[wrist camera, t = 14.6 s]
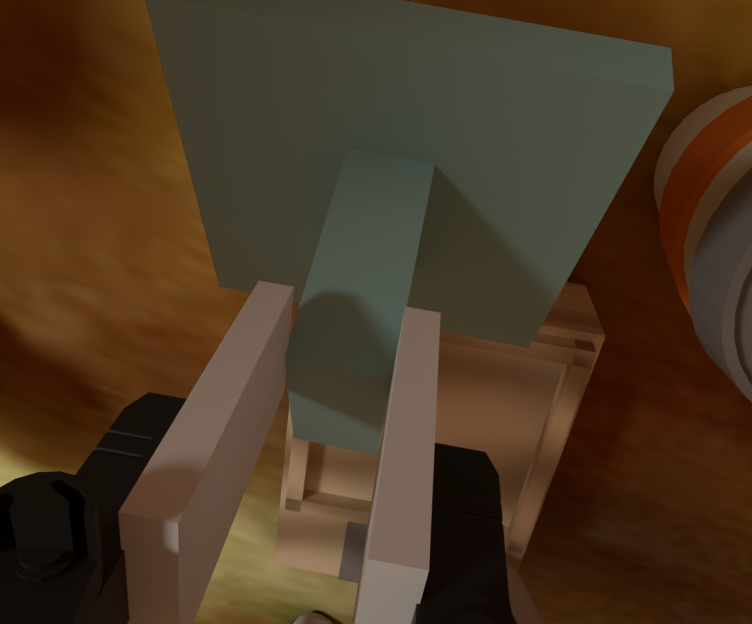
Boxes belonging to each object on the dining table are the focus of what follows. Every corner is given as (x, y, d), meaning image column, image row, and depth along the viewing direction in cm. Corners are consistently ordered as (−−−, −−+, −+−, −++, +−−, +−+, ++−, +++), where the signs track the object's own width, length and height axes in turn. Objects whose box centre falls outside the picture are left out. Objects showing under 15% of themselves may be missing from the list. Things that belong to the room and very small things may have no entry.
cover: (168, -42, 15) (4, 211, 11) (670, 47, 15) (693, 347, 11) (231, 255, 26) (158, 445, 22) (530, 315, 25) (514, 521, 21)
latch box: (321, 238, 39) (297, 290, 33) (585, 284, 39) (609, 346, 33) (293, 500, 50) (270, 576, 44) (499, 538, 49) (505, 620, 43)
